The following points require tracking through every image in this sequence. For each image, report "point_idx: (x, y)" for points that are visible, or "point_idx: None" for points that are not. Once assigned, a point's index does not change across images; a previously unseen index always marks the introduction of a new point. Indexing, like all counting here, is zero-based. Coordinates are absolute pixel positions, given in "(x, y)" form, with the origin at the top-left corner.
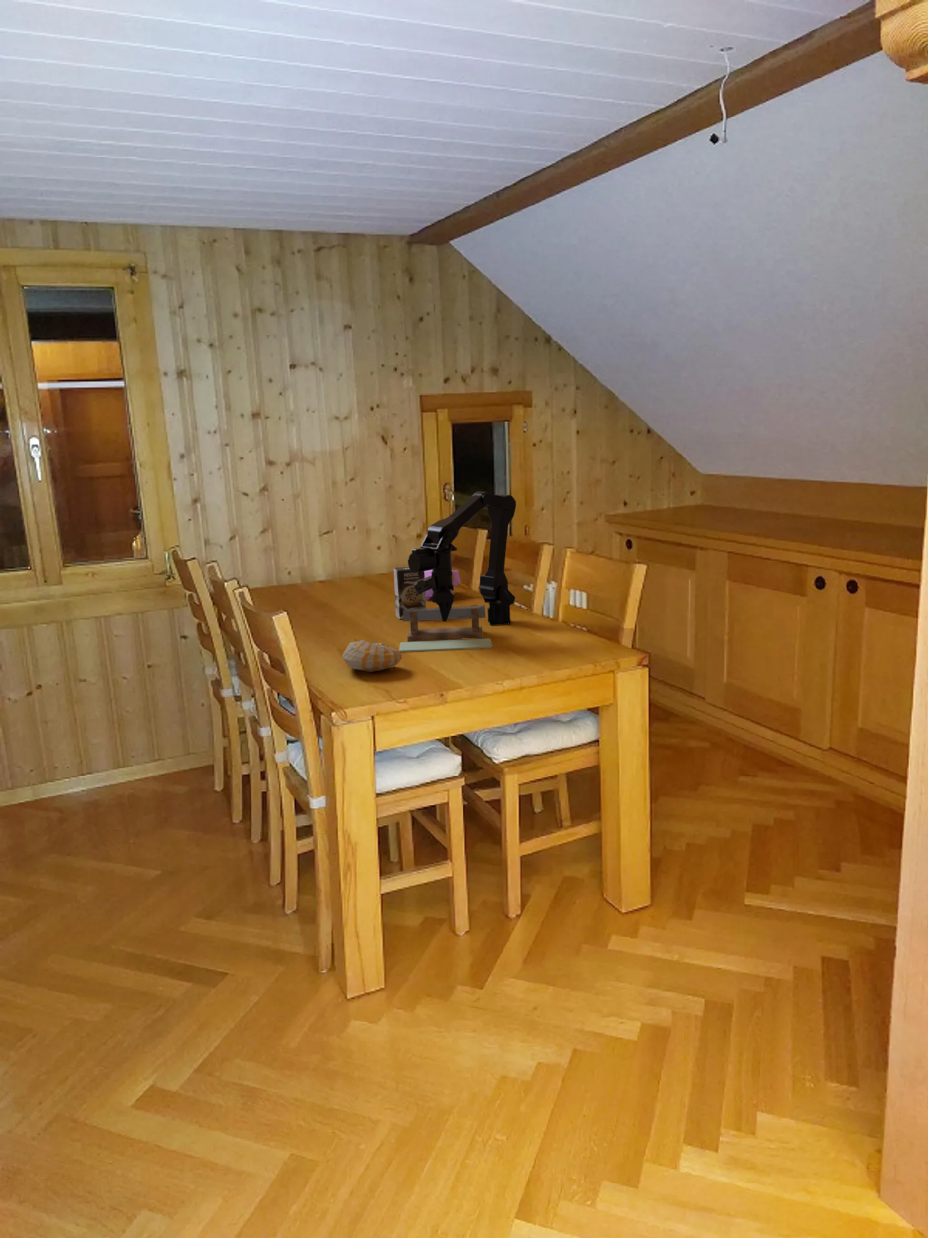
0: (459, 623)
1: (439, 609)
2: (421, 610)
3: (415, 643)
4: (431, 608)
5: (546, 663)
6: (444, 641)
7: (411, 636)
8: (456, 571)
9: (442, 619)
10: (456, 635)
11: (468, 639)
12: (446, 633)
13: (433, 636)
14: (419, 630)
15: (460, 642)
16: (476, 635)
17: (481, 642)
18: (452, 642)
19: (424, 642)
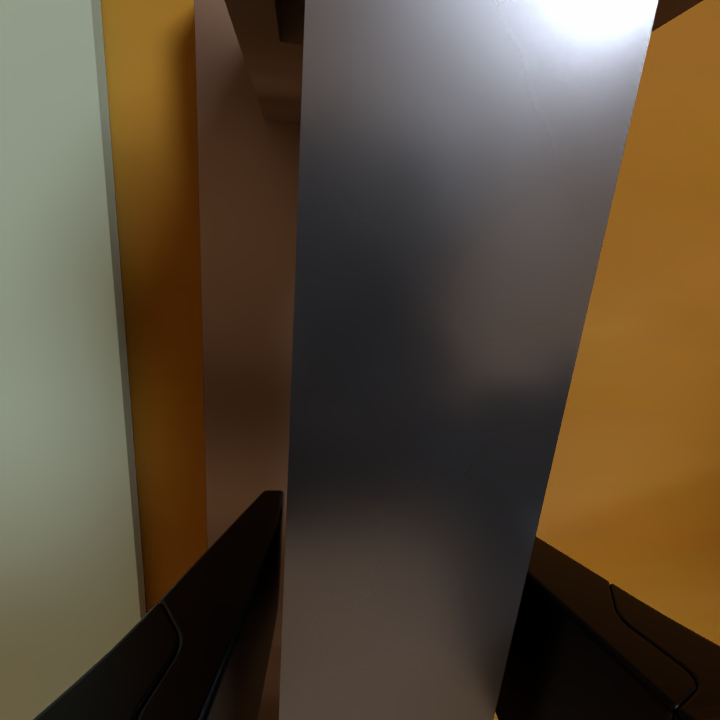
0: (709, 520)
1: (310, 595)
2: (310, 78)
3: (1, 71)
4: (486, 412)
5: None
6: (78, 406)
7: (195, 17)
8: None
9: (253, 504)
10: (209, 523)
11: (133, 597)
12: (260, 444)
13: (203, 308)
14: None
15: (23, 541)
16: None
17: (15, 686)
18: (28, 476)
19: (48, 192)
